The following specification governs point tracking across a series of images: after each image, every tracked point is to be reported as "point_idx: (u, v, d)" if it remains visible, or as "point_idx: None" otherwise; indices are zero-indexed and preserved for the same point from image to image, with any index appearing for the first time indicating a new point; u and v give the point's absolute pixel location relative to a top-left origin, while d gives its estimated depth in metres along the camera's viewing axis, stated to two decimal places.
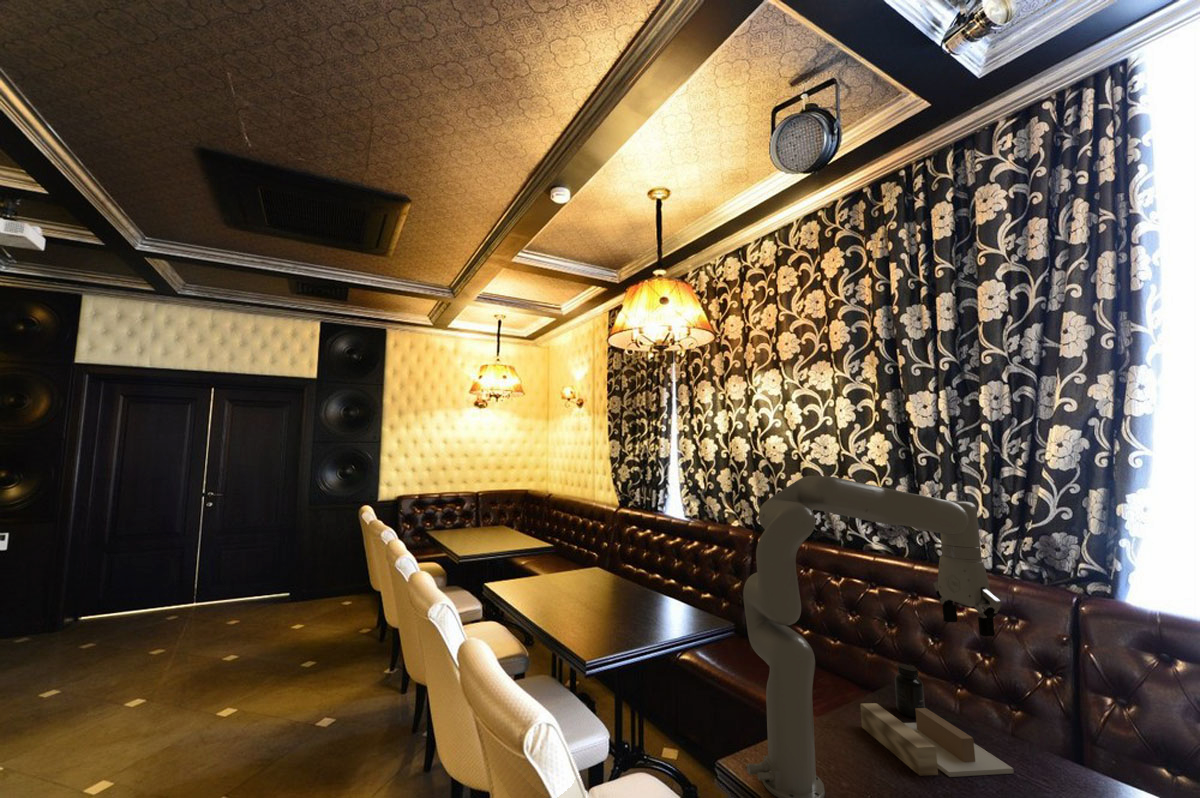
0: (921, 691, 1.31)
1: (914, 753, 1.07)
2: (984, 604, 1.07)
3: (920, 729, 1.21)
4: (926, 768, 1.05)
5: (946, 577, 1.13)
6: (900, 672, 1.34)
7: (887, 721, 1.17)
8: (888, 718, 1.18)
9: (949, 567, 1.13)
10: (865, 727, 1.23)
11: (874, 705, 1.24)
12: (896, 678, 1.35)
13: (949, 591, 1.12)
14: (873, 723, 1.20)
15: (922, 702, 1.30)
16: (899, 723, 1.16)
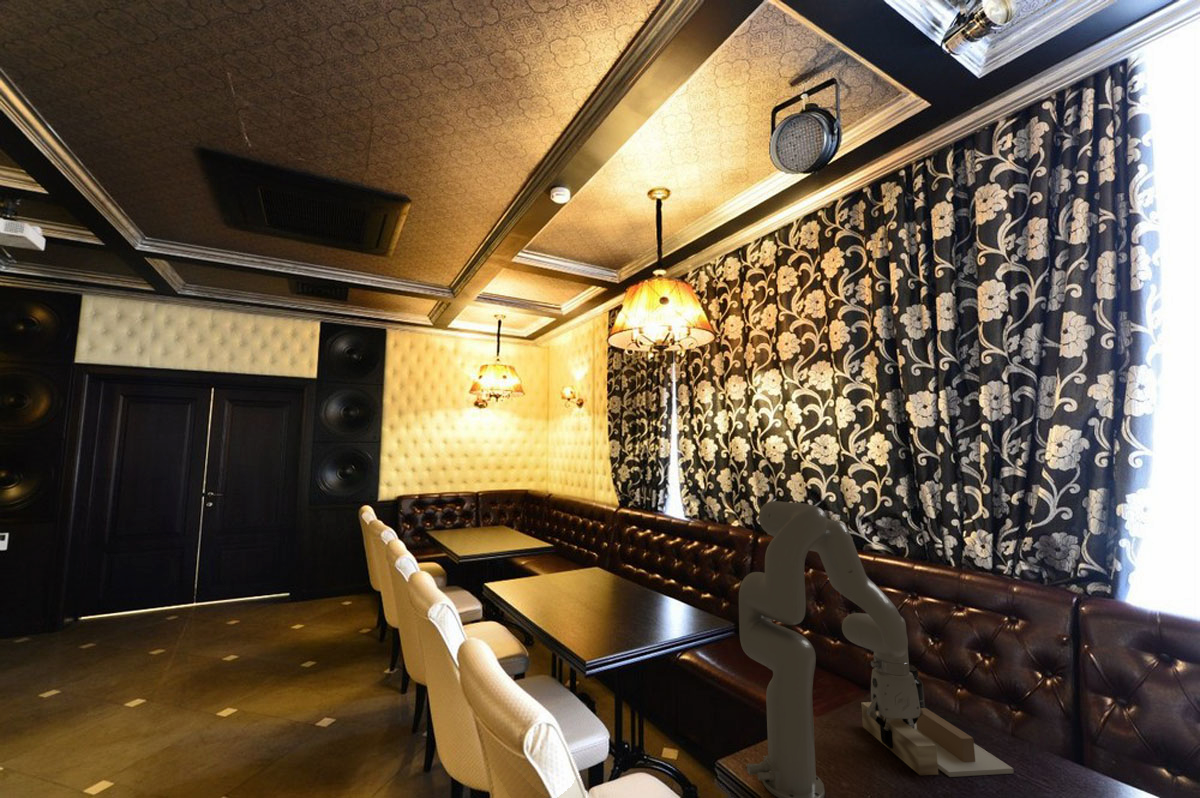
0: (921, 691, 1.31)
1: (914, 752, 1.07)
2: None
3: (920, 729, 1.21)
4: (926, 767, 1.06)
5: (894, 696, 1.14)
6: None
7: None
8: None
9: (898, 685, 1.15)
10: (866, 726, 1.23)
11: None
12: None
13: (897, 710, 1.14)
14: (873, 722, 1.21)
15: (922, 702, 1.30)
16: (900, 721, 1.16)
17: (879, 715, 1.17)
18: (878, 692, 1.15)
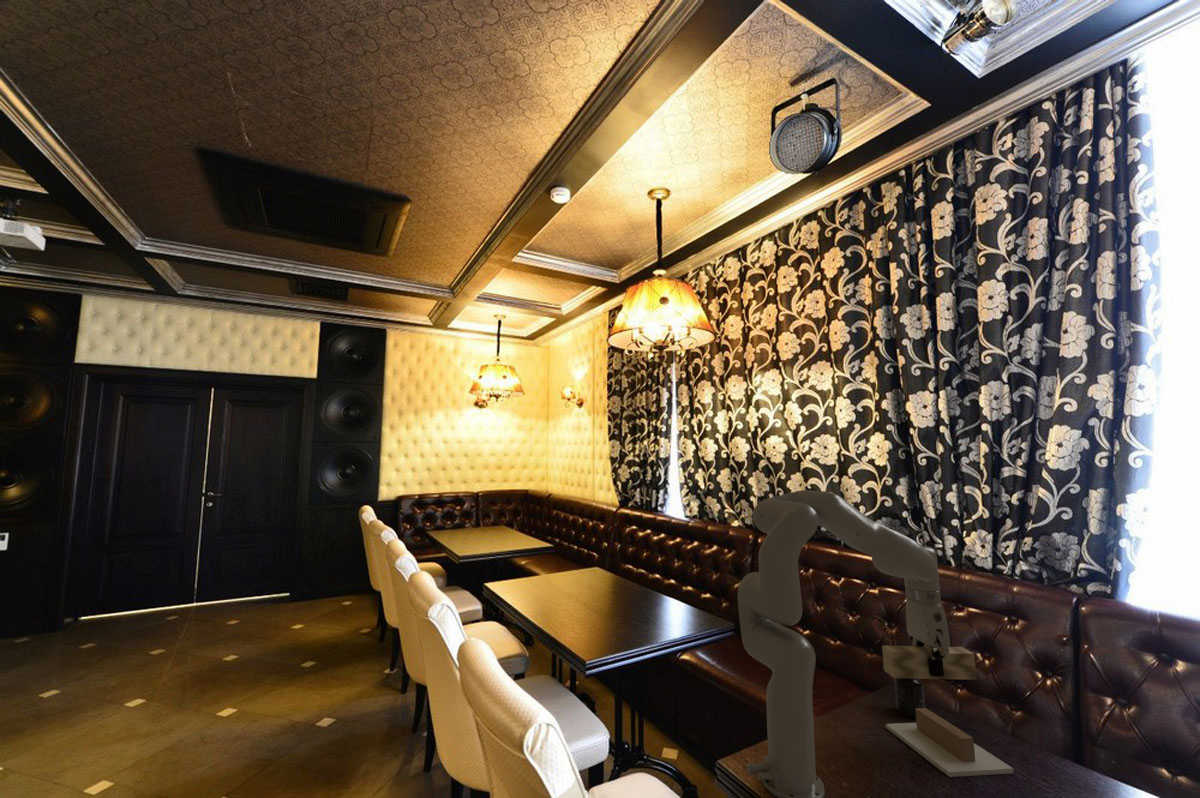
0: (921, 691, 1.31)
1: (970, 661, 1.16)
2: None
3: (920, 729, 1.21)
4: None
5: None
6: None
7: (925, 651, 1.18)
8: (918, 649, 1.19)
9: None
10: (900, 674, 1.16)
11: (890, 647, 1.20)
12: (896, 678, 1.35)
13: None
14: (912, 663, 1.16)
15: (922, 702, 1.30)
16: (923, 647, 1.20)
17: (932, 649, 1.16)
18: (943, 624, 1.15)
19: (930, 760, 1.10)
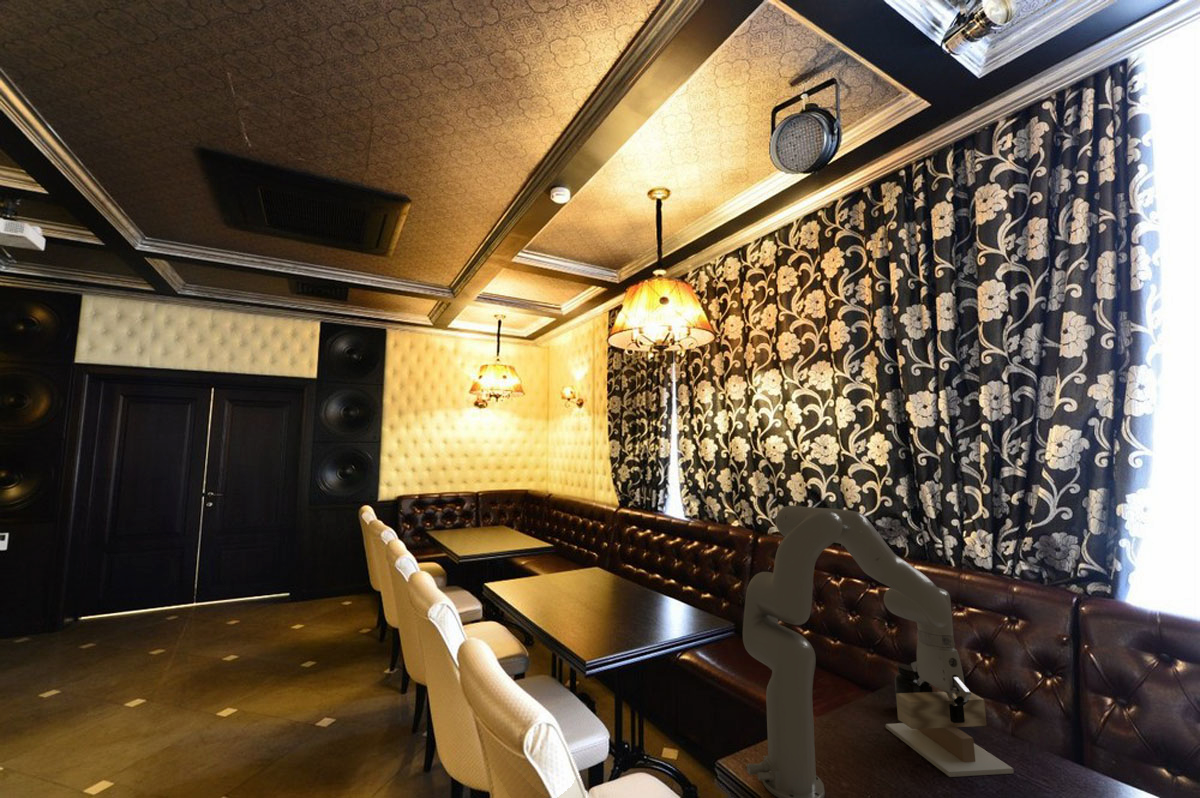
0: None
1: (981, 707, 1.16)
2: None
3: (920, 729, 1.21)
4: None
5: None
6: (900, 672, 1.34)
7: (938, 698, 1.16)
8: (931, 696, 1.17)
9: None
10: (917, 724, 1.13)
11: (905, 695, 1.17)
12: (896, 678, 1.35)
13: None
14: (928, 713, 1.14)
15: None
16: (935, 693, 1.18)
17: (952, 694, 1.13)
18: (959, 670, 1.14)
19: (930, 760, 1.10)
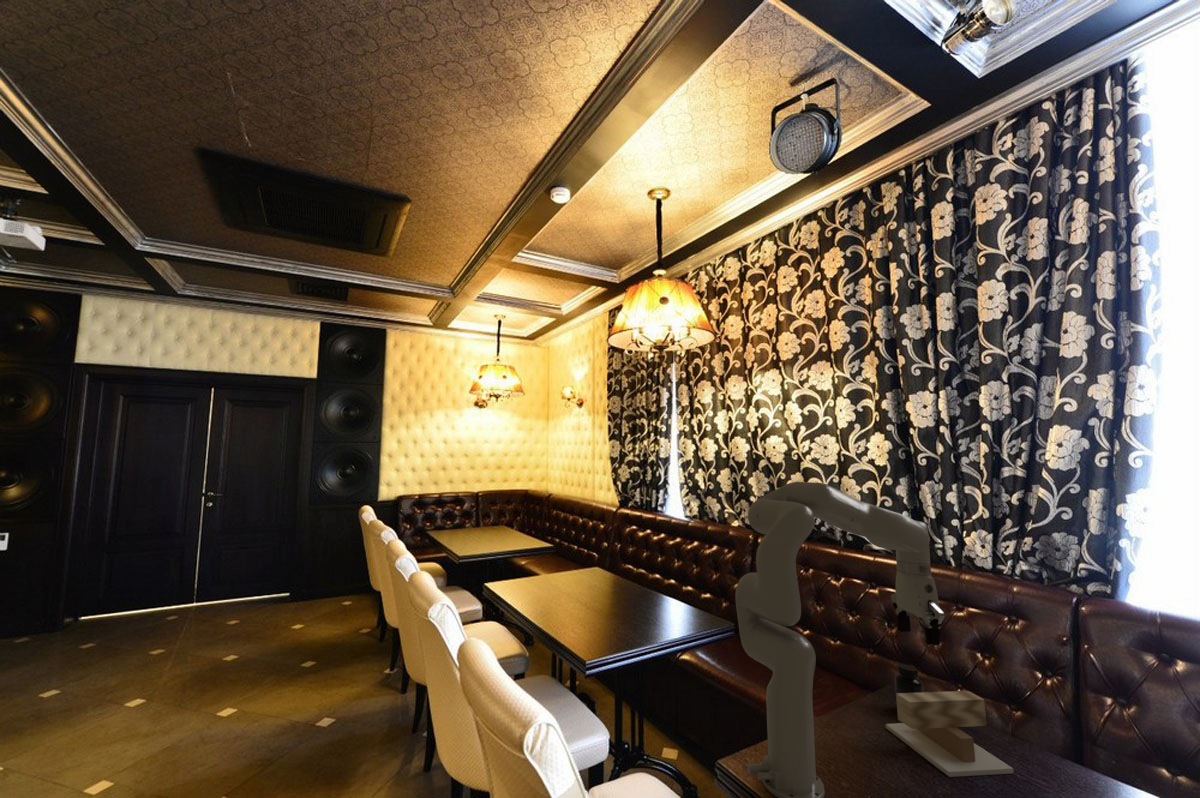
0: (921, 691, 1.31)
1: (981, 707, 1.16)
2: None
3: (920, 729, 1.21)
4: None
5: None
6: (900, 672, 1.34)
7: (938, 698, 1.16)
8: (931, 696, 1.17)
9: None
10: (917, 724, 1.13)
11: (905, 695, 1.17)
12: (896, 678, 1.35)
13: None
14: (928, 713, 1.14)
15: None
16: (935, 693, 1.18)
17: (927, 618, 1.17)
18: (934, 595, 1.18)
19: (930, 760, 1.10)
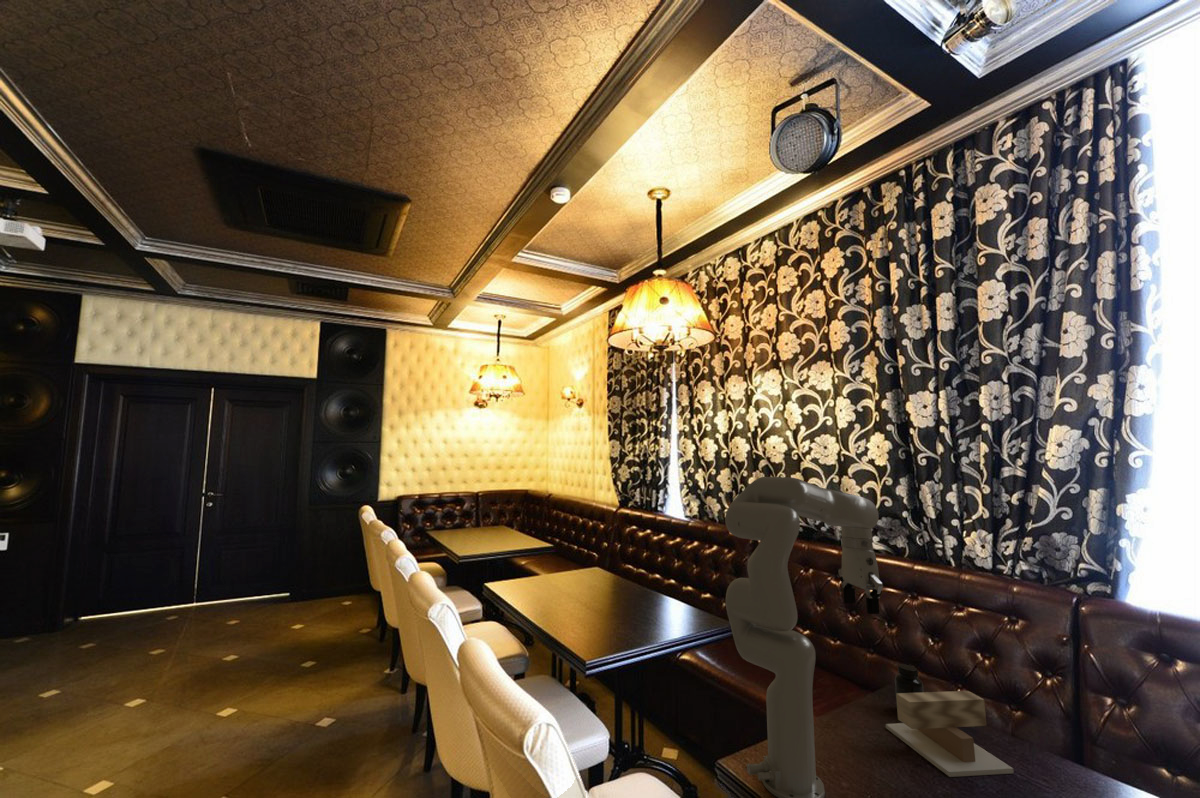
0: (921, 691, 1.31)
1: (981, 707, 1.16)
2: None
3: (920, 729, 1.21)
4: None
5: None
6: (900, 672, 1.34)
7: (938, 698, 1.16)
8: (931, 696, 1.17)
9: None
10: (917, 724, 1.13)
11: (905, 695, 1.17)
12: (896, 678, 1.35)
13: None
14: (928, 713, 1.14)
15: None
16: (935, 693, 1.18)
17: (868, 589, 1.24)
18: (874, 568, 1.25)
19: (930, 760, 1.10)
